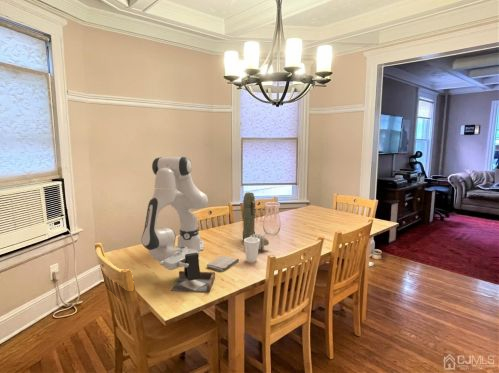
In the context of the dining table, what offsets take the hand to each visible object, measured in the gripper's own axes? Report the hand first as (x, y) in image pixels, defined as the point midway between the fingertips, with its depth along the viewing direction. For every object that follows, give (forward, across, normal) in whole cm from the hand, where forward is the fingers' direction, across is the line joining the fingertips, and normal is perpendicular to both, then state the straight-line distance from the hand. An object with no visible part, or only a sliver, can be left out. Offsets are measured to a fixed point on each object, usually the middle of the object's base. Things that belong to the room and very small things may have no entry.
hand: (193, 263), depth 158 cm
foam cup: (+6, +44, +12) cm, 46 cm away
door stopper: (-1, 0, +8) cm, 8 cm away
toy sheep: (-1, +60, +12) cm, 61 cm away
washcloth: (-4, +29, +13) cm, 32 cm away
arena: (-1, +1, +12) cm, 12 cm away
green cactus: (-14, +72, +12) cm, 74 cm away
